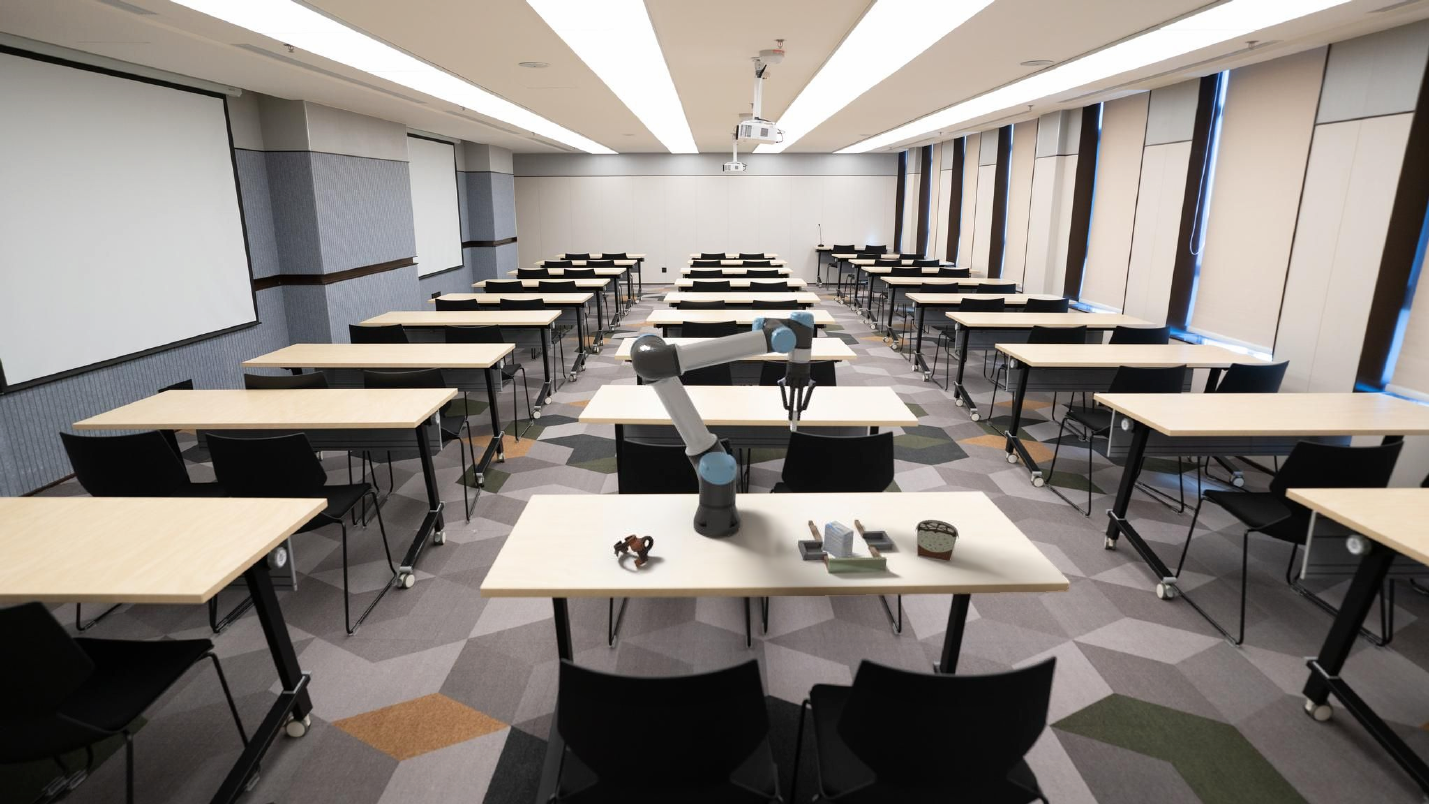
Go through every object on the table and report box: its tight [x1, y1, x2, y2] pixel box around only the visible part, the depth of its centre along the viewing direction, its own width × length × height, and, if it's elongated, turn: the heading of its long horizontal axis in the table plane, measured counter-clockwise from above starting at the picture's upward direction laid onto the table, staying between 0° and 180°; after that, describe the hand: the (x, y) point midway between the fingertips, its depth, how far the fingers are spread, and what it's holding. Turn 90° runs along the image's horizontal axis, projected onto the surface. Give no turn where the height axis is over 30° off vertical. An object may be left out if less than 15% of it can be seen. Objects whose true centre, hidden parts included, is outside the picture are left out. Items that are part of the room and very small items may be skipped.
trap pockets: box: [797, 530, 894, 561], centre depth 206 cm, size 13×28×2 cm, turn 94°
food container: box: [914, 519, 960, 563], centre depth 202 cm, size 12×6×10 cm, turn 71°
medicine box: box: [823, 520, 855, 558], centre depth 202 cm, size 8×4×9 cm, turn 35°
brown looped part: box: [613, 533, 655, 568], centre depth 199 cm, size 12×10×8 cm
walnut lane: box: [808, 519, 888, 574], centre depth 207 cm, size 29×16×4 cm, turn 4°
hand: (793, 430), depth 225 cm, fingers closed
